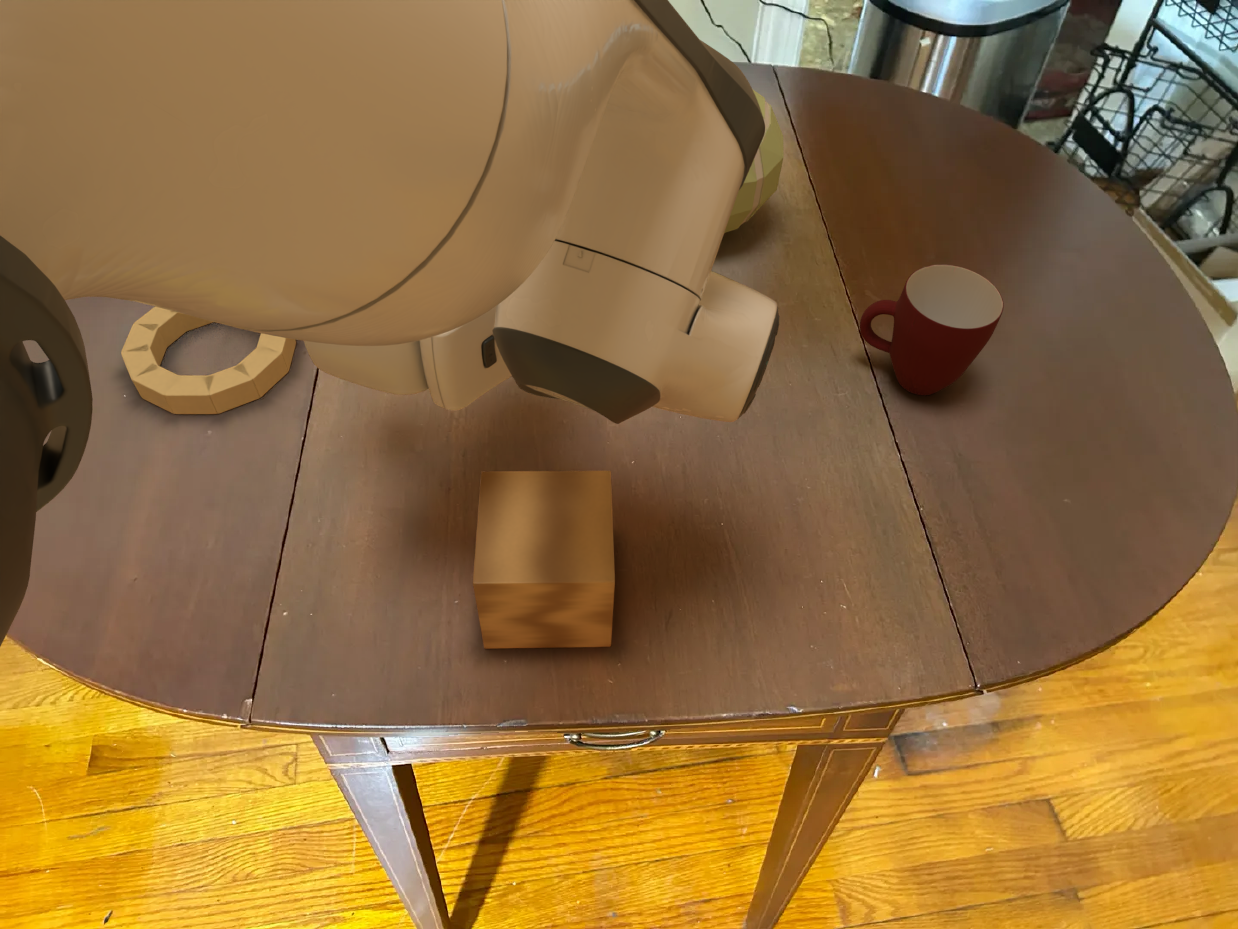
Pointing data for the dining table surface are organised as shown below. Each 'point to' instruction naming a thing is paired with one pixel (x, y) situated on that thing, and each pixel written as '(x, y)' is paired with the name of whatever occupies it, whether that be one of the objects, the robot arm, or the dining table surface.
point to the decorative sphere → (760, 170)
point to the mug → (936, 325)
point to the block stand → (545, 559)
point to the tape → (199, 390)
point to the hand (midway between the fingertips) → (331, 226)
